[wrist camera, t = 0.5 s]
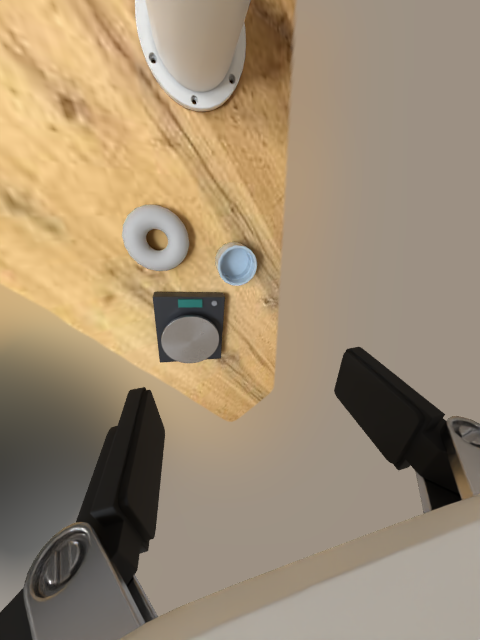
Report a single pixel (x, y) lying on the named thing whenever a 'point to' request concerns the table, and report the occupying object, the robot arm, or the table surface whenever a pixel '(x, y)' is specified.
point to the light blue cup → (235, 263)
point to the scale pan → (190, 339)
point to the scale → (188, 313)
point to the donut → (147, 220)
